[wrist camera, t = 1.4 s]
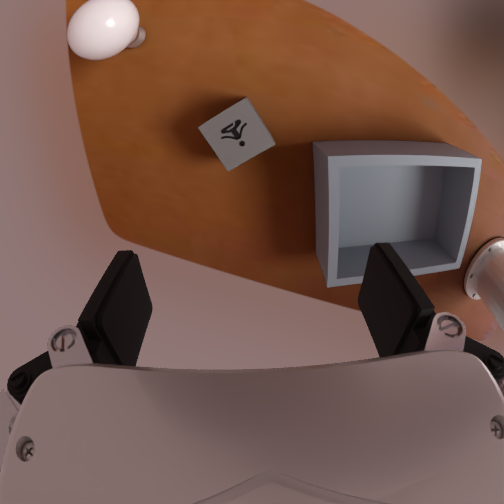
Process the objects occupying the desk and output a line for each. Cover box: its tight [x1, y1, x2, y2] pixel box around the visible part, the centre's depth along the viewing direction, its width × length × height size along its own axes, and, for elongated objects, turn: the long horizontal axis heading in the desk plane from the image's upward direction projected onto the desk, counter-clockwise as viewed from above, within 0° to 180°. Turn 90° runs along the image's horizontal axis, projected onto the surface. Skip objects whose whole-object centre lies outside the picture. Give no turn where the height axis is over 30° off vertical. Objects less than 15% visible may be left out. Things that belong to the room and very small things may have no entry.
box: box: [312, 140, 482, 287], centre depth 29 cm, size 18×14×7 cm
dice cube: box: [198, 97, 276, 171], centre depth 26 cm, size 5×5×5 cm
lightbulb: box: [67, 0, 146, 60], centre depth 17 cm, size 6×6×11 cm
